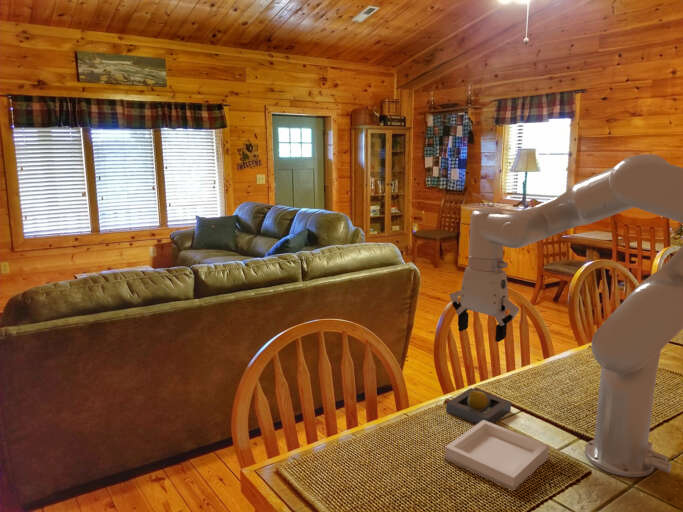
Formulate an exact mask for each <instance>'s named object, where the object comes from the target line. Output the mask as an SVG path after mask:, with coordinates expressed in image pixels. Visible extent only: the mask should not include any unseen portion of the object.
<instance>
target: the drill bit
mask: <svg viewBox="0 0 683 512" xmlns="http://www.w3.org/2000/svg"><path fill="white" fill-rule="evenodd" d="M487 394H488V393H487V392H485V391H484V390H482V389H481V390H480V389H476V390H475V391H471V392H470V394H469V396H468V399H467V403H468V405H467V407H470V408H473V409H475V410H478V411H481V412H483V413H485V412H487V411H488V410H489V409H490V408H489V406H490V398H489V396H488V395H487Z"/></svg>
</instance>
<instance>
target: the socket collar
mask: <svg viewBox="0 0 683 512" xmlns="http://www.w3.org/2000/svg"><path fill="white" fill-rule="evenodd" d="M475 390H477V389H475V388H472V387H470V388H468V389H466V390H465V391H464V392H462V393H460V394H459V395H457V396H456V397H454V398H452V399H450V400H449V401H447V402H446V403H445V404H446V409H445V410H446V411H445V412H446V413H448V414H450V415H451V416H454V417H457V418H459V419H462V420H464V421H467V422H470V423H472V424H474V425H477V424H478V423H479V422H481V421H482V420H485V421H488V422H490V423H493V424H496V423H497V422H498V421H500V420H501V419H502V418H504V417H505V416H507V415H508V414H509V413H510V412H512V401H510V400H507V399H503V398H501V397H498V396H496V395H493V394H489V393H487V395H488V396H489V398H490V406H489V408H488V409H487V410H486V411H485V412H481V411H478V410H475V409H473V408H470V407H469V406H468V403H467V399H468V396H469V394H470V392H471V391H475Z"/></svg>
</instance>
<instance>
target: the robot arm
mask: <svg viewBox="0 0 683 512" xmlns="http://www.w3.org/2000/svg"><path fill="white" fill-rule="evenodd" d="M634 208H636V209H639V210H642V211H645V212H648V213H650V214H654V215H656V216H660V217H664V218H666V219H670V220H671V221H675V222H678V223H681V224H683V167H681V166H678V165H674V164H670V163H669V161H668V160H666V159H665V158H663V157H662V156H659V155H657V154H654V153H645V154H636V155H631V156H629V157H626V158H624V159H622V160H621V161H620V162H618V163H617V164H616V165H615V166H612V167H611V168H609V169H606V170H604V171H601V172H600V173H597V174H594V175H593V176H590V177H587V178H585V179H582V180H580V181H578V182H575V183H574V184H572V185H571V186H569V188H568V189H567V190H566V191H565V192H563V193H562V194H560V195H558V196H556V197H554V198H552V199H548V200H547V201H545V202H542V203H540V204H537V205H535V206H533V207H529V208H526V209H524V210H520V211H519V210H518V211H515V212H510V213H507V212H506V213H505V212H504V211H502V210H499V209H495V208H478V209H474V210H473V211H472V212H471V213H470V219H469V237H468V238H469V239H468V241H469V243H468V259H467V261H468V263H467V266H466V267H465V269H464V272H463V273H464V274H463V276H462V281H461V288H460V290H458V291H455V292H454V291H453V292H451V293H450V294H449V298H450V301H451V302H452V307H453V308H454V310H455V313H456V315H458V316H457V326H458V332H463V331H466V330H467V329H469V316H470V315H469V312H467V311H472V312H477V313H480V314H485V315H488V316H493V317H494V319H495V320H496V321H497V323H498V324H496V326H495V339H494V340H495V342H497V343H499V342H501V341H504V340H505V338H506V336H507V330H508V329H507V327H508V326H507V325H508V323H510V322H511V321H513V320H514V319H515V318H516V316H517V314H518V313H519V312H520V308H519V307H518V306H517V305H516V304H515V303H513V302H512V301H511V300H509V290H508V288H509V287H508V279H507V273H506V272H507V271H506V270H503V269H507V268H508V262H507V261H504V247H506V248H510V249H519V248H523V247H527V246H529V245H530V244H531V245H532V244H533V243H537V242H539V241H542V240H545V239H547V238H550V237H552V236H555V235H558V234H560V233H563V232H566V231H567V230H570V229H574V228H576V227H580V226H586V225H587V226H588V225H590V224H593V223H596V222H599V221H601V220H604V219H607V218H610V217H612V216H615V215H618V214H620V213H622V212H623V213H624V212H626V211H628V210H631V209H634ZM459 297H460V299H459ZM507 310H509V312H508V314H506V312H507ZM682 330H683V244H682V245H681V246H680V247H679V248H678V250H677V251H676V252H675V253H674V254H673V255H672V256H671V257H670V258H669V259H668V260H667V261H666V263H664V265H663V266H661V267H660V268H659V269H658V270H657V271H656V272H654V273H653V274H651V275H649V276H648V277H647V278H646V279H644V280H643V281H642V282H641V283H640V284H638V286H636V287H635V288H634V290H632V291H631V293H630V294H629V295H628V296H627V297H626V298H625V299H624V300H623V301H622V302H621V303H620V305H619V306H618V307H617V308H616V309H615V310H614V311H613V312H612V313H611V315H609V317H607V318H606V320H604V322H603V323H602V324H600V326H599V327H598V329H596V331H595V332H594V333H593V336H592V339H591V351H592V352H591V353H592V355H593V357H594V359H595V360H596V362H597V363H598V364H599V366H601V369H600V379H599V380H600V381H599V385H598V387H599V388H598V397H597V399H598V400H597V407H596V408H597V409H596V416H595V417H596V419H595V431H594V439H592V440H590V441H588V442H587V443H586V444H585V448H584V453H585V454H584V455H585V456H586V458H587V459H588V461H589V462H590V463H591V464H593V465H594V466H595V467H597V468H599V469H601V470H603V471H604V472H607V473H610V474H613V475H616V476H621V477H627V478H641V477H645V476H646V477H647V476H649V475H651V473H653V472H654V470H655V469H658V470H660V471H662V472H665V473H668V474H669V473H670V472H671V469H672V462H670V461H668V456H666V455H664V454H662V453H661V454H660V453H657V452H655V450H653V449H652V448H653V443H652V442H651V441H649V439H650V438H649V437H650V429H651V422H652V421H651V419H652V413H653V412H652V411H653V403H654V395H655V388H656V387H655V386H656V381H657V374H658V373H657V372H658V368H659V362H660V358H661V352H662V350H663V348H665V346H666V345H668V344H669V343H670V342H671V341H672V340H673V339H674V338H675V337H676V336H677V335H678V334H679V333H680V332H681V331H682Z"/></svg>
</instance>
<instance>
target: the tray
mask: <svg viewBox="0 0 683 512" xmlns="http://www.w3.org/2000/svg"><path fill="white" fill-rule="evenodd" d="M549 450H550V445H549V444H547V443H544V442H541V441H539V440H536V439H534V438H532V437H529V436H526V435H524V434H522V433H518V432H516V431H513V430H511V429H508V428H505V427H502V426H500V425H498V424H496V423H494V424H493V423H490V422H488V421H485V420H482V421H481V422H479V423H478V424H474V426H472V427H471V428H470V429H468V430H466V431H465V432H464V433H463V434H461V435H460V436H458V437H457V438H455V439H454V440H452V441H451V442H450V443H448V444H447V445H445V447H444V460H445V459H446V460H448V461H450V462H452V463H454V464H456V465H455V466H457V465H458V466H457V467H459V466H461V467H463V468H465V469H468V470H469V471H471V472H474V473H475V474H474V473H473V474H474V475H476V474H478V475H480V476H482V477H485V478H487V479H489V480H491V481H493V482H495V483H497V484H500V485H502V486H504V487H506V488H508V489H511V490H512V491H513V490H514V489H516V488H517V487H518V486H519V485H520V484H521V483H522V482H523V481H524V480H525V479H526V480H527V479H528V478H529V477H531V475H533V474H534V473H535V472H536V471H537V470H538V469H539V468H540V467H541V466H542V465H543V464H544V463H545V462H546V461H547V460H548V459H549ZM446 460H445V461H446ZM448 461H447V462H448ZM450 462H449V463H450ZM452 463H451V464H452ZM454 464H453V465H454ZM540 465H541V466H540ZM539 466H540V467H539ZM461 467H460V468H461ZM538 467H539V468H538ZM463 468H462V469H463ZM537 468H538V469H537ZM465 469H464V470H465ZM536 469H537V470H536ZM535 470H536V471H535ZM469 471H468V472H469ZM534 471H535V472H534ZM471 472H470V473H471ZM533 472H534V473H533ZM478 475H477V476H478ZM480 476H479V477H480ZM528 476H529V477H528ZM482 477H481V478H482ZM527 477H528V478H527ZM526 480H525V481H526ZM525 481H524V482H525ZM493 482H492V483H493ZM524 482H523V483H524ZM495 483H494V484H495ZM523 483H522V484H523ZM497 484H496V485H497ZM522 484H521V485H522ZM521 485H520V486H521ZM520 486H519V487H520ZM519 487H518V488H519ZM518 488H517V489H518ZM517 489H516V490H517ZM512 491H511V492H512Z"/></svg>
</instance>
